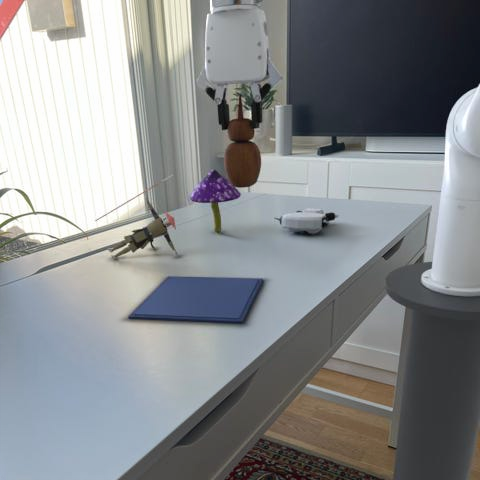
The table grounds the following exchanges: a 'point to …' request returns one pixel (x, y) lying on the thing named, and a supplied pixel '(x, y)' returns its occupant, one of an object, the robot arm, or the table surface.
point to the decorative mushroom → (214, 194)
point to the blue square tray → (200, 300)
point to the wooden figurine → (242, 152)
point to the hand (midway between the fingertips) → (240, 127)
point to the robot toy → (306, 220)
